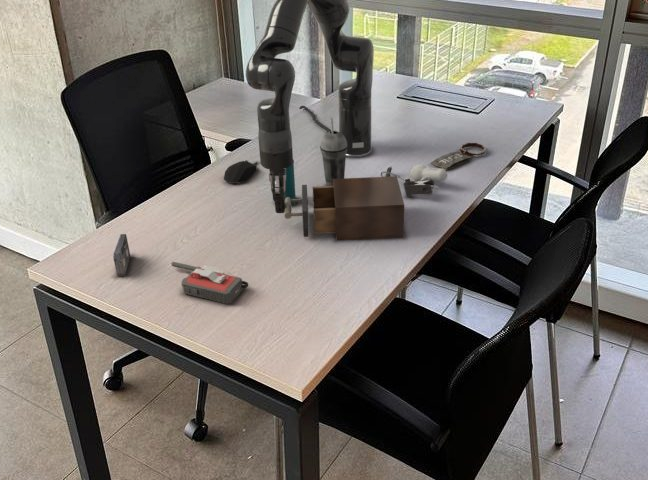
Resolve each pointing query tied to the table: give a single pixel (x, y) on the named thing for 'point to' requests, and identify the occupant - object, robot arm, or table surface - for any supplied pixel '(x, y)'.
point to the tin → (290, 183)
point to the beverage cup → (333, 155)
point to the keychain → (459, 156)
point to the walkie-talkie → (211, 283)
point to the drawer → (316, 209)
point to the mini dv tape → (121, 255)
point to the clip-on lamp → (421, 179)
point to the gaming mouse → (239, 172)
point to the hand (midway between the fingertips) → (280, 211)
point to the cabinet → (368, 208)
